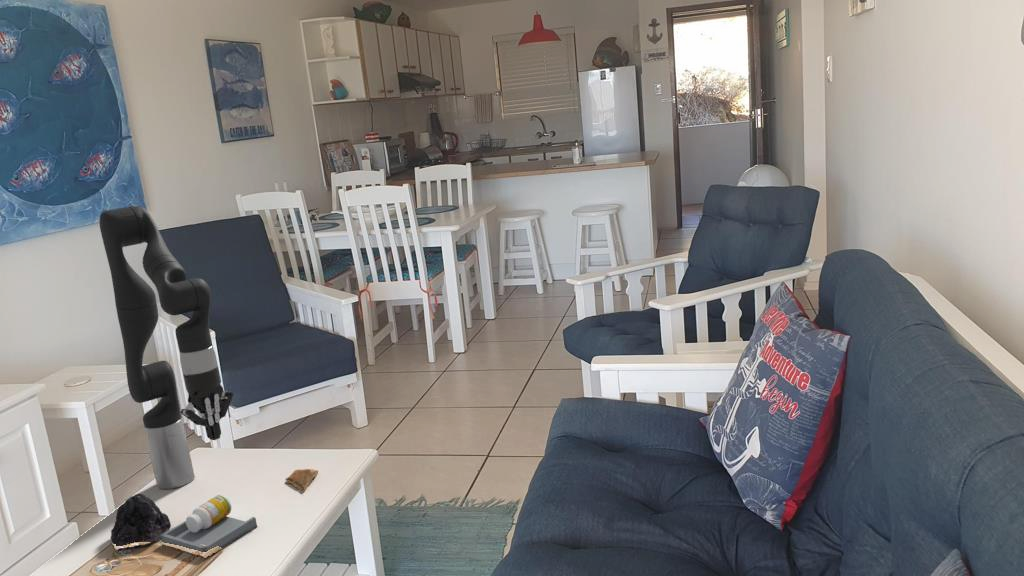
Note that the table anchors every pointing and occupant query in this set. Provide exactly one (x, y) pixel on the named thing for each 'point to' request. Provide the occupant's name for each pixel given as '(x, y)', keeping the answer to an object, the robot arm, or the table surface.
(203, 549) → the tray
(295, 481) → the shard
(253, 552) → the table surface
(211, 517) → the supplement bottle
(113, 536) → the crystal cluster
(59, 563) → the table surface
